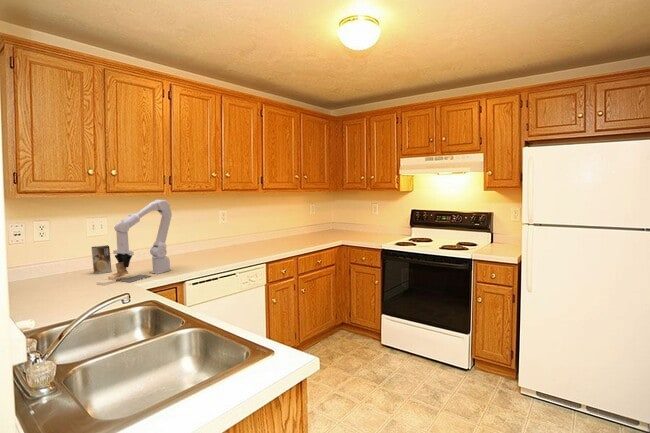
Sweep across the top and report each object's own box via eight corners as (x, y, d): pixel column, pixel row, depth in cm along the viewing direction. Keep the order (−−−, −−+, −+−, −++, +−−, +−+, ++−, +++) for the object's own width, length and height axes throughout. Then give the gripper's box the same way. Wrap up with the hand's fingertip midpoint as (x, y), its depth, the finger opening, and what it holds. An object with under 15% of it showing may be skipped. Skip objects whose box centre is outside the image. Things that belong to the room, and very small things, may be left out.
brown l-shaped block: (123, 272, 212) (120, 261, 210) (128, 273, 210) (126, 262, 208) (108, 278, 204) (106, 267, 202) (113, 279, 202) (111, 267, 200)
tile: (108, 278, 205) (96, 281, 198) (116, 279, 202) (103, 283, 196) (109, 281, 205) (96, 285, 199) (116, 282, 202) (103, 286, 196)
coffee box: (110, 270, 231) (108, 244, 229) (111, 272, 226) (109, 246, 224) (93, 272, 225) (91, 246, 224) (94, 274, 220) (92, 248, 219)
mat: (140, 275, 217) (140, 274, 217) (151, 276, 213) (151, 276, 213) (118, 281, 205) (118, 280, 205) (129, 282, 201) (129, 282, 201)
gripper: (107, 243, 208) (109, 267, 209) (124, 245, 202) (126, 269, 203) (119, 241, 214) (120, 264, 216) (136, 243, 208) (137, 266, 209)
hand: (124, 266), depth 210 cm, fingers closed on brown l-shaped block, 3 cm apart
